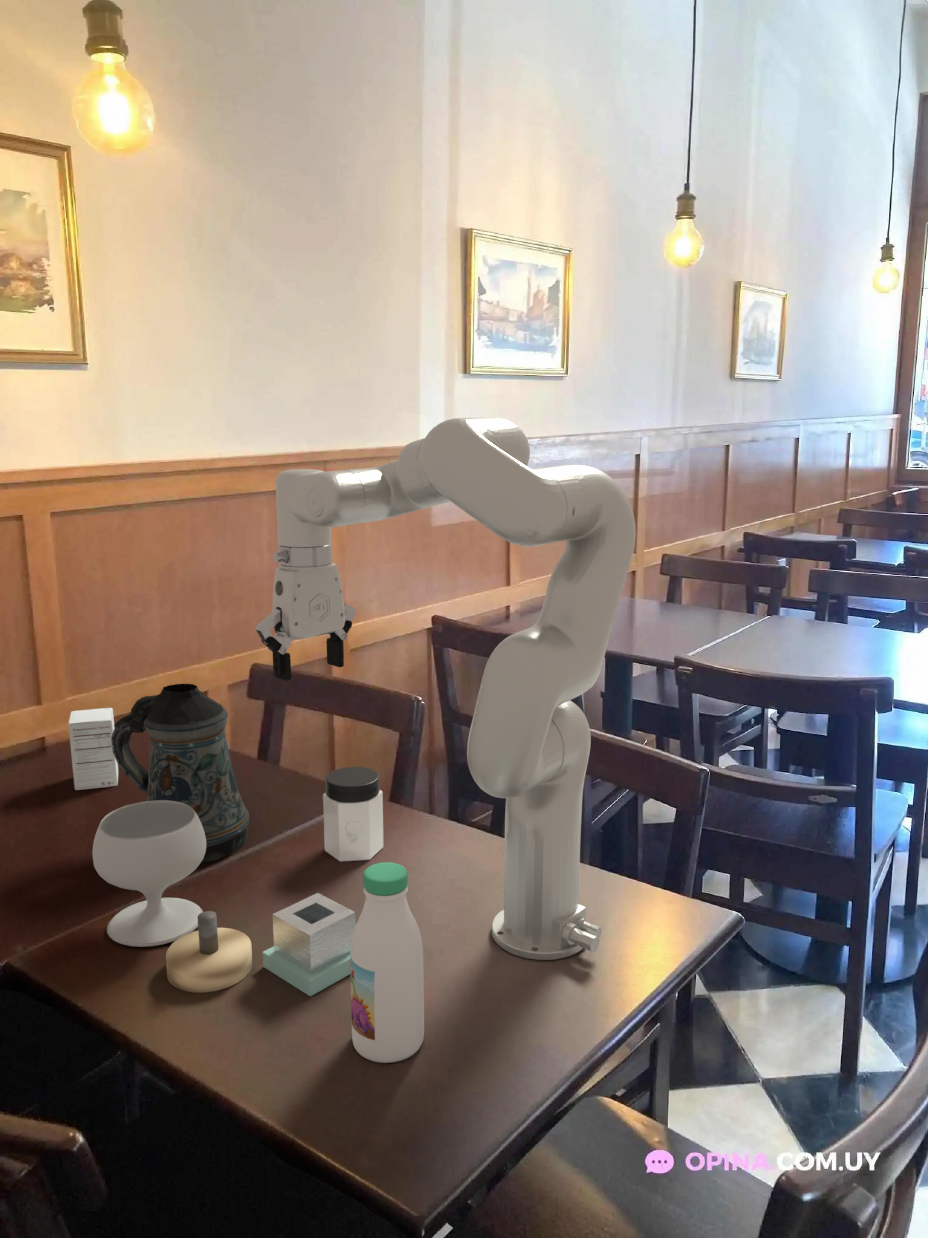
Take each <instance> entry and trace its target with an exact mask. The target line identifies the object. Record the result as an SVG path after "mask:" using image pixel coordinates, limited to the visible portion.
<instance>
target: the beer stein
mask: <svg viewBox="0 0 928 1238" xmlns="http://www.w3.org/2000/svg"><path fill="white" fill-rule="evenodd" d="M228 717H229V713H228V711H227V709H226V708H225V707H223V705H222V704H221V703H218V702H217V701H215V700H214V699H212V698H210V697H208V696H207V695H206V694H205V693H203V692H202V691H201V690H200V689H199V687H198V685H196V684H194V683H193V684H192V683H175V684H170V685H166V686H163V688H162V689H161V691H160V693H159V694H154V695H145V696H142V697H141V698H139V699H137V700H136V701H135V703H134V704H133V705H132V707H131V709H130V713H128V714H126V715H124V716H123V717H122V718H120V719H118V720H117V721H116V722H114V728H115V729H114V731H113V733H112V738H111V745H112V750H113V754H114V756H115V759H116V761H117V763H118V767H119V768H120V769H121V771H123V773H124V775H125V776H126V777H127V778H128V779H129V780H130V781H131V782H132V783H133V784H134V785H135V786H136V787H137V788H138V789H140V790H141V791H142V792H144V794H147V797H146V801H155V800H168V801H176V802H181V803H184V804H186V805H188V806H190V807H191V808H192V809H193V810H194V811H195V812H196V814H197V815H198V817H199V820H200V822H201V824H202V826H203V830H204V833H205V837H206V852H205V855H204V858H203V860H202V862H201V863H200V864H204V863H210V862H215V861H217V860H220V859H223V858H226V857H227V856H228V857H229V856H231V855H232V853H233V854H234V853H235V852H237V851H238V850H239V849H241V848H243V847H244V846H245V845H244V844H246V842H247V840H248V837H249V824H250V813H249V810H248V809H247V807H246V806H245V804H244V802H243V800H242V797H241V794H240V791H239V787H238V785H237V780H236V776H235V773H234V769H233V765H232V759H231V756H230V749H229V745H228V742H227V741H228V740H227V736H226V726H227V724H228ZM145 731H146V733H147V734H148V736H149V737H150V751H149V766H148V768H149V769H146V768H145V767H144V766H143V765H142V764H141V763H140V762H139V760H138V758H137V757H136V756H135V754H134V753H133V752H132V749H131V746H130V740H131V736H132V734H133V733H135V734H137V733H138V734H140V733H141V734H143V733H144V732H145ZM243 845H244V846H243ZM240 847H241V848H240ZM236 850H237V851H236ZM230 854H231V855H230Z"/></svg>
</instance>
